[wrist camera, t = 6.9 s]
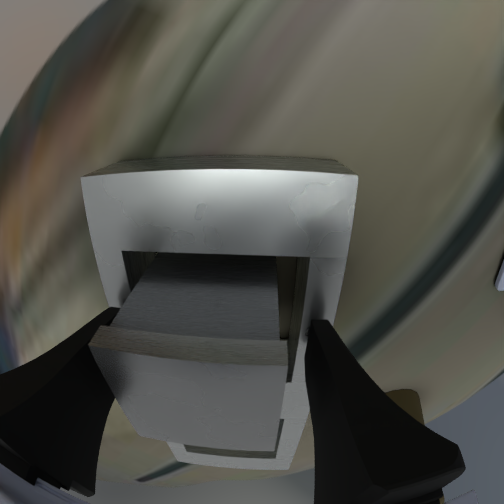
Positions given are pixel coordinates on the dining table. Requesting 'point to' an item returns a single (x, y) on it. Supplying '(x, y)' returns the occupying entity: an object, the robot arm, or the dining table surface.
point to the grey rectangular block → (199, 351)
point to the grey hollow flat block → (230, 247)
